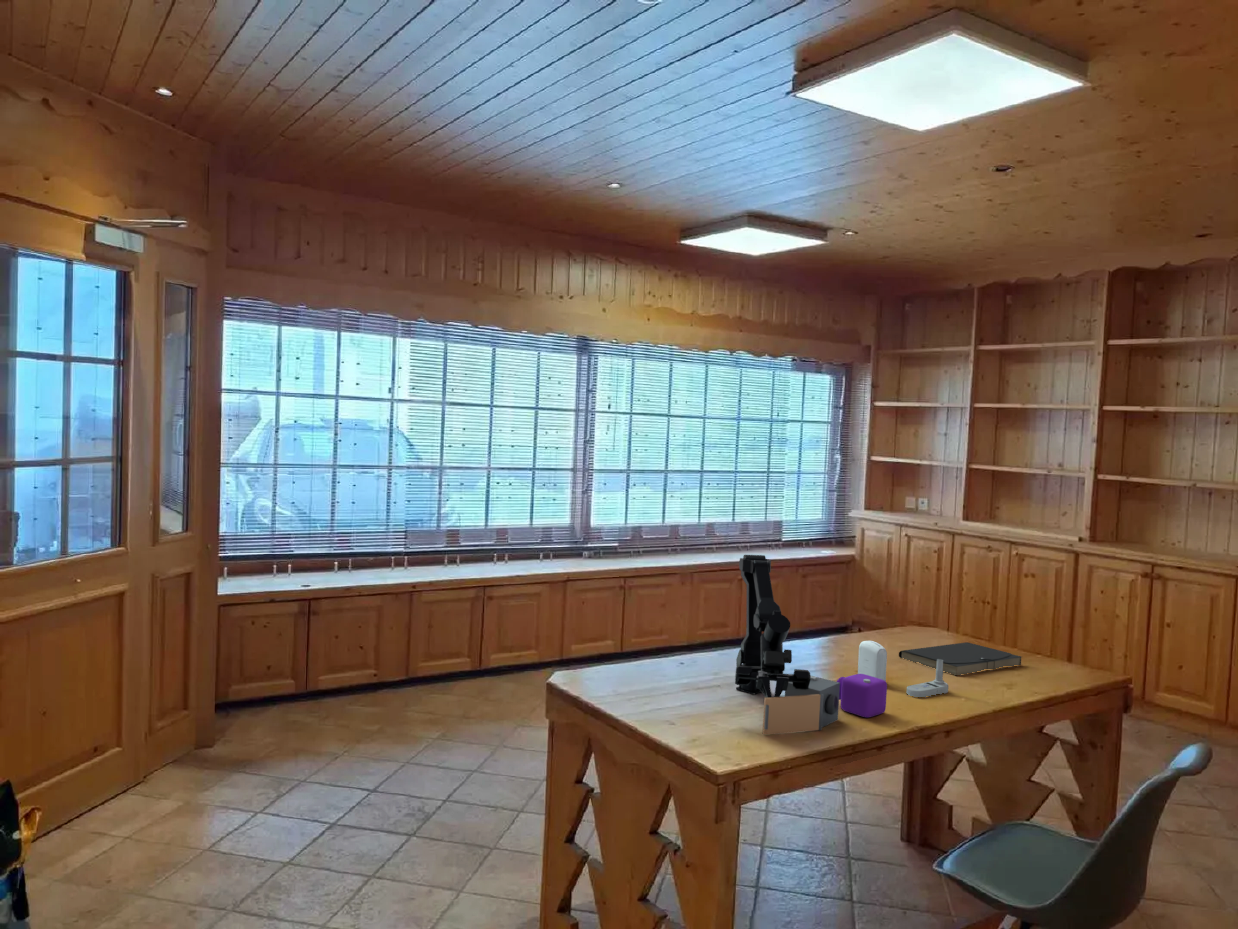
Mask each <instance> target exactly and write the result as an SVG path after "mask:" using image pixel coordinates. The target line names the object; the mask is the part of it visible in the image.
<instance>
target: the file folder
mask: <svg viewBox="0 0 1238 929" xmlns="http://www.w3.org/2000/svg"><path fill="white" fill-rule="evenodd" d="M899 657H901V658H900V659H902V658H904V659H903V660H905V659H907V660H906V661H908V660H910V661H909V662H911V661H913V662H912V663H914V662H919V663H921V664H923V665H926V666H929V667H932V668H935V669H936V668H937V659H941V660H943V671H945V672H948V673H951V674H954V675H953V676H955V675H960V676H962V675H961V674H967V673H972V672H977V671H981V670H984V669H996V668H999V667H1003V666H1014V665H1021V666H1022V656H1020V655H1017V654H1016V655H1015V654H1013V653H1011V652H1007V651H1004V650H999V649H994V648H991V647H988V646H987V647H986V646H984V645H981V644H975V643H973V642H972V643H971V642H961V643H960V642H957V643H952V644H951V643H950V644H944V645H936V646H926V647H920V648H919V647H918V648H913V649H905V650H900V651H899V652H898V658H899ZM923 665H922V666H923ZM926 666H925V667H926ZM929 667H928V668H929ZM932 668H931V669H932ZM935 669H934V670H935ZM945 672H944V673H945ZM948 673H947V674H948ZM951 674H950V675H951ZM967 675H968V674H967Z"/></svg>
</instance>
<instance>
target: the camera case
mask: <svg viewBox="0 0 1238 929" xmlns="http://www.w3.org/2000/svg"><path fill="white" fill-rule="evenodd" d="M810 677H811V680H810V684H809V688H808V689H806V690H804V689H795V688H794V687H793V684H792V682H788V687H787V690H786V691H784V696H799V695H814V694H823V695H824V697H823V715H822V728H824V727H826V726H828V725H830V724H832V723H834V722H836V721H838V720H839V707H840V700H839V691H840V683H839V682H837V681H834V680H831V679H826V678H824V677H823V678H822V677H819V676H814V675H811V674H810Z"/></svg>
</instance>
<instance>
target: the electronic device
mask: <svg viewBox="0 0 1238 929" xmlns="http://www.w3.org/2000/svg"><path fill="white" fill-rule="evenodd" d="M943 676H944V672H943V660H941V659H937V668H936V670H935V679H933V680H931V681H925V682H922V683H921V682H920V683H916V684H912V685H908V686H907V687H906V692H905V693H907V694H908V695H910V696H914V697H925V698H927V697H926V696H930V697H932V696H931V695H935V696H937V695H936V694H940V695H943V694H942V693H944V694H948V692H949V684H948V683H947V682H945V680H944V679H943V678H944V677H943ZM907 694H906V695H907ZM908 695H907V696H908ZM910 696H909V697H910ZM914 697H913V698H914Z"/></svg>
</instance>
